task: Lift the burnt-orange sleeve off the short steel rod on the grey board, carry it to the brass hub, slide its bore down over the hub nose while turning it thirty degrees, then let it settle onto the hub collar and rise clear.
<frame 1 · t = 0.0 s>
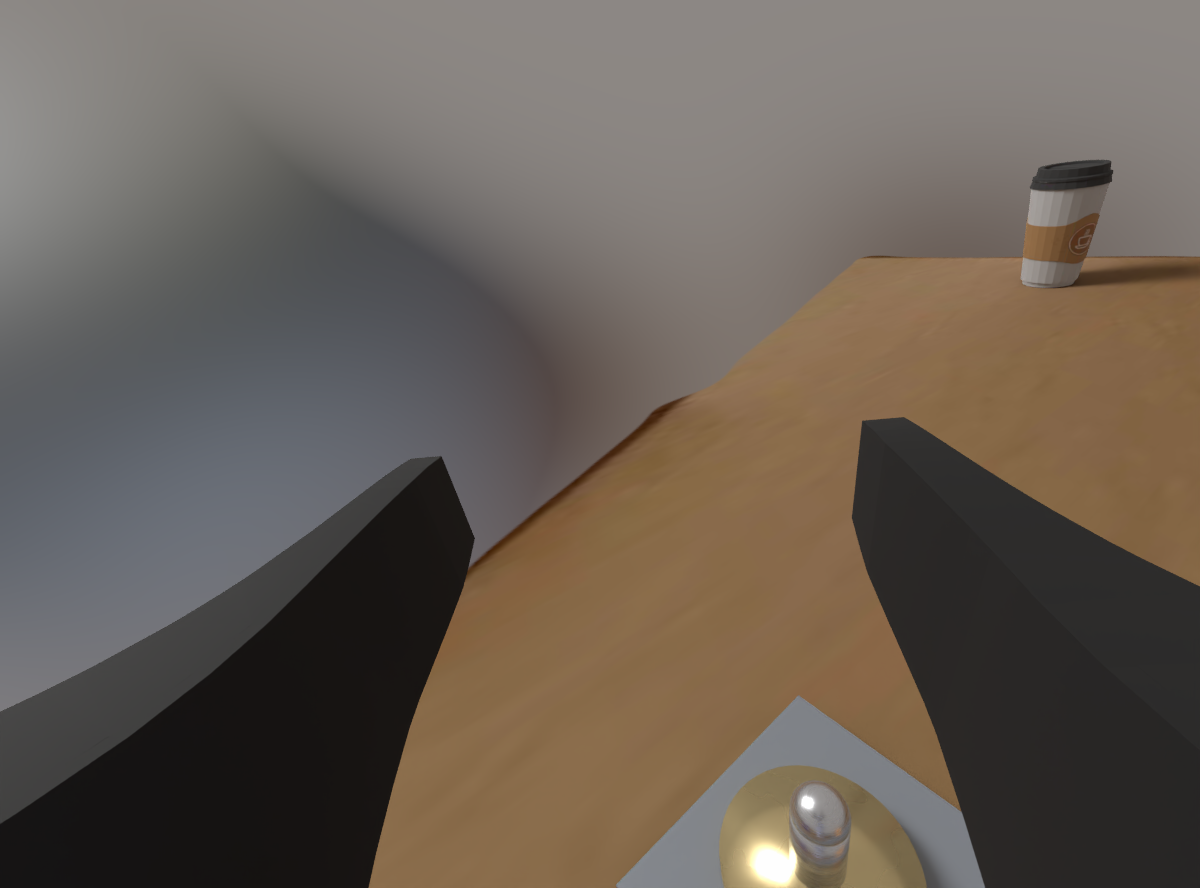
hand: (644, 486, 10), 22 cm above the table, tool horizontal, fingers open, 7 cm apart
hub: (816, 874, 21), resting on board
coffee cup: (1047, 283, 78), on the table
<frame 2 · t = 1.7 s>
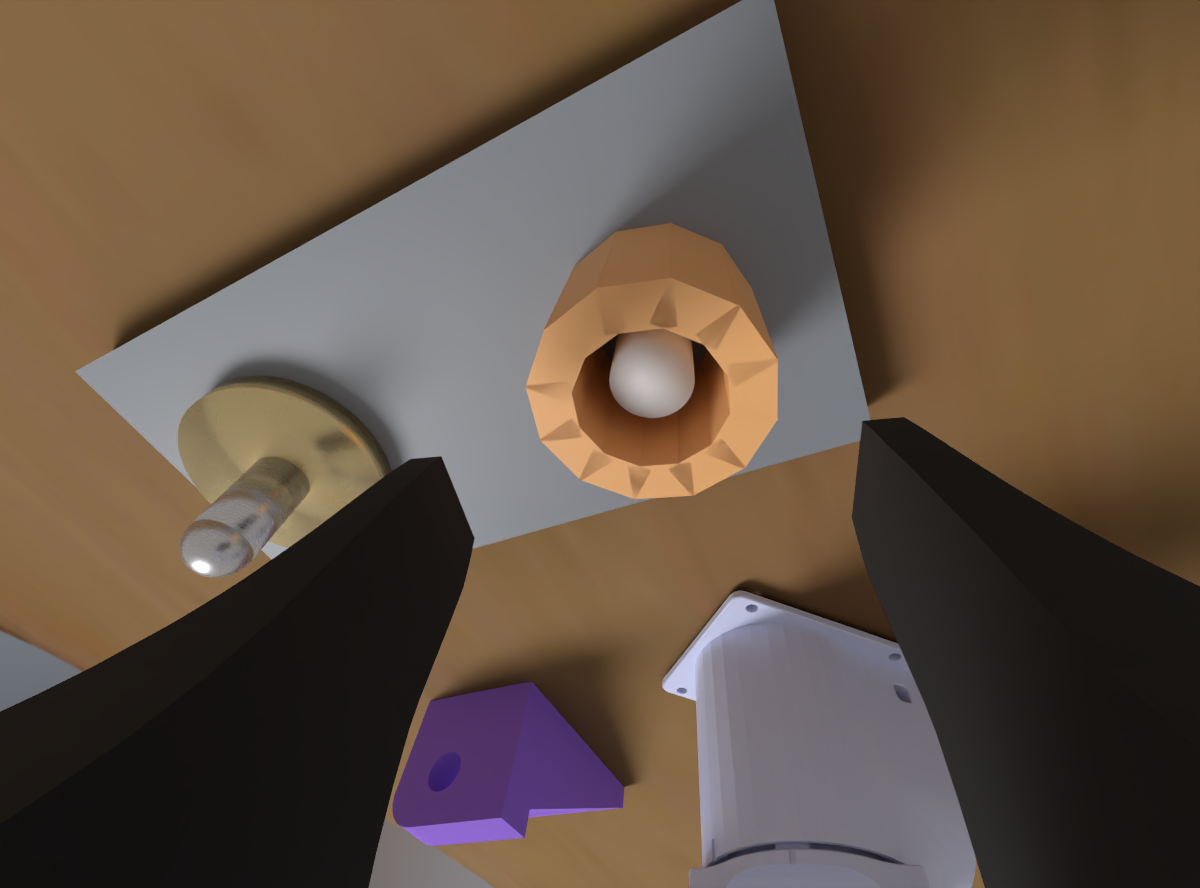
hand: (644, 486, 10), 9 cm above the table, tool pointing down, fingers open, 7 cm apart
bracket: (533, 737, 34), on the table
sleeve: (655, 324, 16), point 1 cm above the table, touching board
board: (467, 380, 19), on the table
hub: (297, 462, 20), resting on board
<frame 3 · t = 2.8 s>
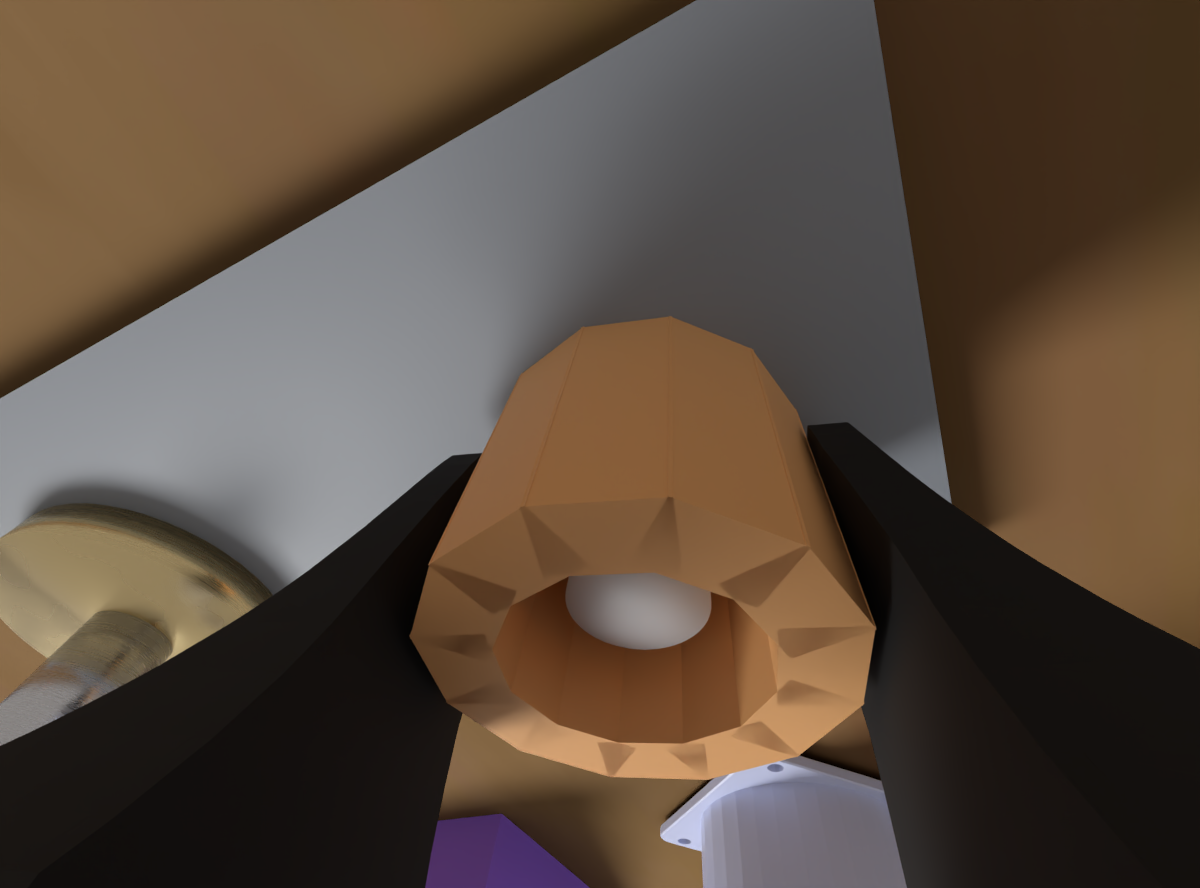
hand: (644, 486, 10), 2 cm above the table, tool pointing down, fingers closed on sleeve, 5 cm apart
bracket: (510, 860, 28), on the table
sleeve: (646, 456, 10), point 2 cm above the table, touching board, gripper
board: (388, 501, 14), on the table
hub: (161, 604, 15), resting on board
when the fingers open (4 cm above the table, at t = 8.5 s): sleeve stays where it is, resting on hub.
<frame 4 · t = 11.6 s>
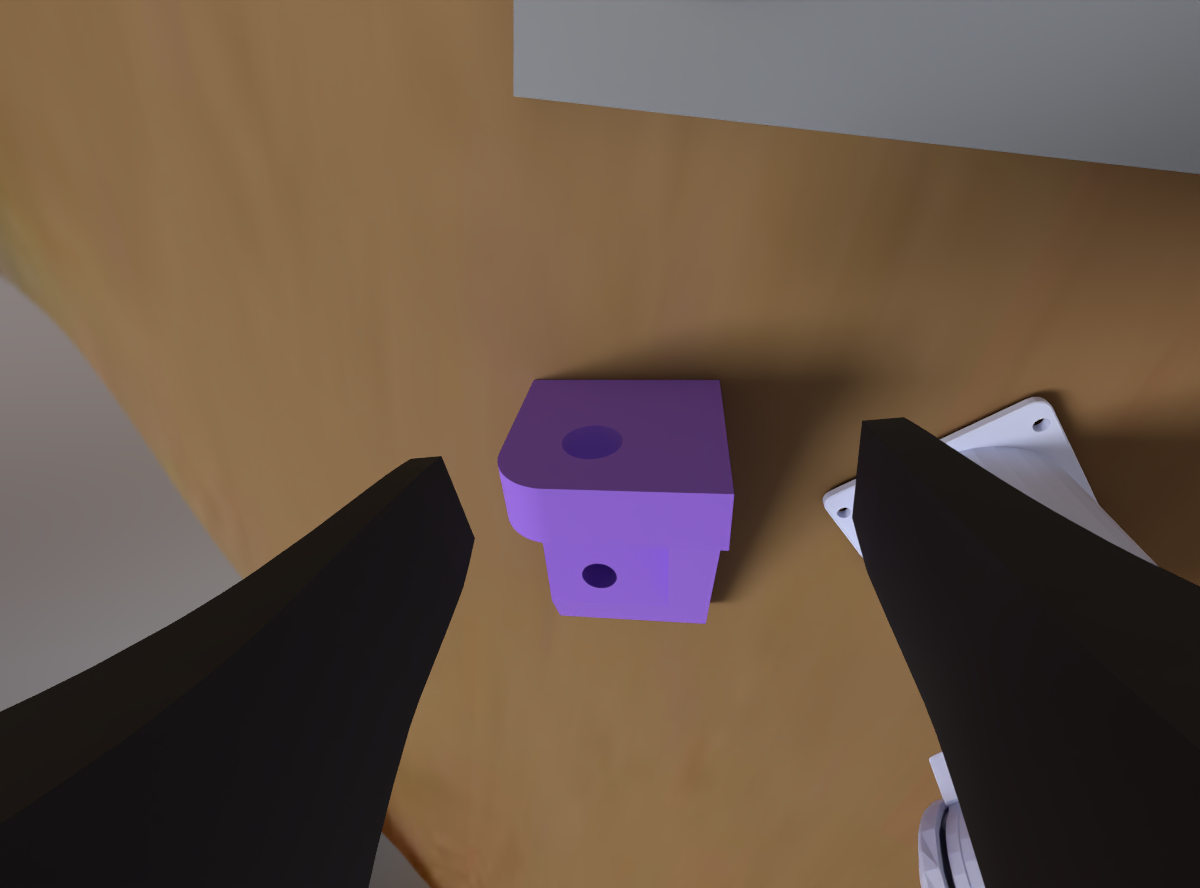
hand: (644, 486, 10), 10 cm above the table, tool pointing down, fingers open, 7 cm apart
bracket: (630, 497, 24), on the table
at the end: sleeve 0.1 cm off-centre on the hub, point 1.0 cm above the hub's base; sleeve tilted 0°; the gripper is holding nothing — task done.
